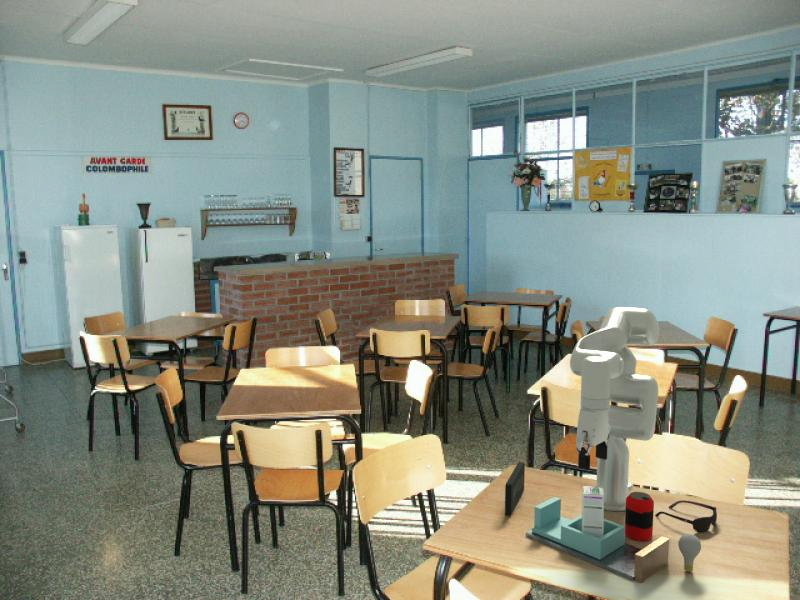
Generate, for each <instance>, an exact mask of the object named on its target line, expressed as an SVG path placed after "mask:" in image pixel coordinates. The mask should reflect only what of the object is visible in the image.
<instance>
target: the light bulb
mask: <svg viewBox="0 0 800 600" xmlns="http://www.w3.org/2000/svg"><path fill="white" fill-rule="evenodd" d="M678 549H679V552H680V553H681V555H682V556H683V563H684V565H683V569H684V570H685V572H687V573H690V572H693V571H694V568H693V567H694V562H695V561H694V560H695V559H696V558H697V556H698V555H699V554H700V552H701V550H702V543H701V541H700V539H699V538H698V537H697V536H696V535H694V534H691V533H686V534H683V535H682V536H681V537H680V538H679V540H678Z"/></svg>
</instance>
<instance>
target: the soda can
mask: <svg viewBox="0 0 800 600" xmlns="http://www.w3.org/2000/svg"><path fill="white" fill-rule="evenodd" d="M654 507H655V502H654V499H653V498H652V497H651V495H650V494H648V493H646V492H643V491H632V492H631V493H630V492H629V494H628V497H627V498H626V510H624V511H625V513H624V526H625V537H626V538H628V539H630V540H633V541H634V542H648V541H650V540H651V539H652V538H653V531H654V529H653V528H654Z"/></svg>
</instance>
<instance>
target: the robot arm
mask: <svg viewBox="0 0 800 600" xmlns="http://www.w3.org/2000/svg"><path fill="white" fill-rule="evenodd" d="M659 324H660V323H659V321H658V320H657V318H656V316H655V314H654V313H653V312H652V311H651V310H650V309H648V308H642V307H641V308H640V307H624V306H616V307H612V308H610V309H609V310H608V311H607V312H606V313H605V316H604V318H603V321H602V322H601V325H600V327H599V329H598V330H595V331H593V332H591V333H589V334H587V335H585V336H582V337H581V338H580V339H578V341H577V343H576V344H575V346H574V348H573V350H572V353H571V354H570V355H571V356H570V360H569V369H570V371H571V372H572V373H573V375H576V376H579V377H581V379H580V380H581V382H580V409H579V413H578V419H577V428H576V441H575V445H576V451H577V454H578V458H577V459H578V462H577V467H578V468H579V469H582V470H587V471H589V470H591V455H590V453H591V449H592V448H593V447H595V458H596V459H597V460H596V461H597V462H596V463H597V464H596V487H602V488H603V492H604V511H611V512H622V511H625V510H626V498H627V497H628V496H629V494H630V492H631V491H633V490H634V486H633V485H632V484H629V471H630V469H629V467H630V450H629V447H628V445H627V443H626V441H625V439H628V440H636V441H645V442H646V441H650V440H651V439H653V437H654V435H655V434H654V433H655V430H656V421H657V419H656V418H657V412H658V411H657V410H658V402H659V384H658V381H657V380H656V378H654V377H653V376H650V375H647V374H636V367H637V358H636V357H635V355H634V353H633V352H632V350H631V349H630V348H629V347H628V346H627V344H628V345H635V346H636V345H637V346H648V347H649V346H654V345H655V344H657V343H658V341H659V337H660V325H659ZM610 401H611V402H613V403H618V404H624V405H633V406H639V407H640V408H634V407H629V406H628V407H627V406H622V405H614V404H613V405H611V404H610ZM585 447H586V448H585Z"/></svg>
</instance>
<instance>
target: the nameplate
mask: <svg viewBox="0 0 800 600" xmlns="http://www.w3.org/2000/svg"><path fill="white" fill-rule="evenodd" d="M525 465H526V463H525V462H523V461H522V462H521V461H517V463H516V465H515V467H514V469H513V471H512V473H511V474H510V476H509V478H508V480H507V481H506V482H505V487H504V489H505V490H504V499H505V500H504V514H505V515H506V516H513V513H514V511H515V509H516V508H517V505H518V503H519V501H520V499H521V497H522V495H523V493H524V492H525V476H526V475H525V472H526V471H525V469H526V466H525Z"/></svg>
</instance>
